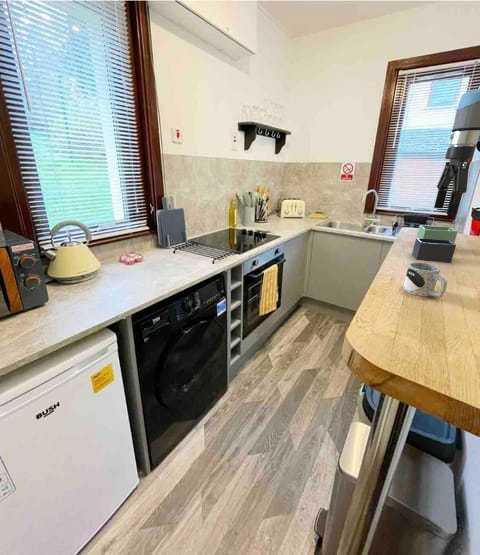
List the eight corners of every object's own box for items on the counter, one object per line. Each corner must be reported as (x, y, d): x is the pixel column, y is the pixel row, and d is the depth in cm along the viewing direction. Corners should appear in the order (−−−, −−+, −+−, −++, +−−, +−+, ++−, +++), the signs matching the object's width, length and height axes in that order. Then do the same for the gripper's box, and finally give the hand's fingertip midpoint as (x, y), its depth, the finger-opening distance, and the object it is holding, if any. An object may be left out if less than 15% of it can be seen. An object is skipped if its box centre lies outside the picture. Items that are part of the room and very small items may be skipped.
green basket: (443, 247, 107) (449, 226, 103) (451, 252, 100) (457, 231, 96) (414, 244, 109) (419, 225, 106) (419, 250, 102) (425, 229, 99)
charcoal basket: (444, 256, 96) (449, 240, 93) (450, 262, 90) (456, 245, 88) (411, 254, 99) (416, 237, 96) (416, 259, 93) (420, 242, 91)
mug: (397, 286, 73) (402, 263, 70) (417, 284, 74) (423, 261, 72) (429, 304, 64) (437, 278, 61) (452, 300, 65) (460, 275, 63)
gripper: (436, 148, 103) (422, 205, 111) (463, 144, 81) (444, 216, 89) (460, 147, 100) (444, 206, 109) (494, 143, 79) (471, 217, 87)
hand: (444, 211), depth 99 cm, fingers open, 13 cm apart
